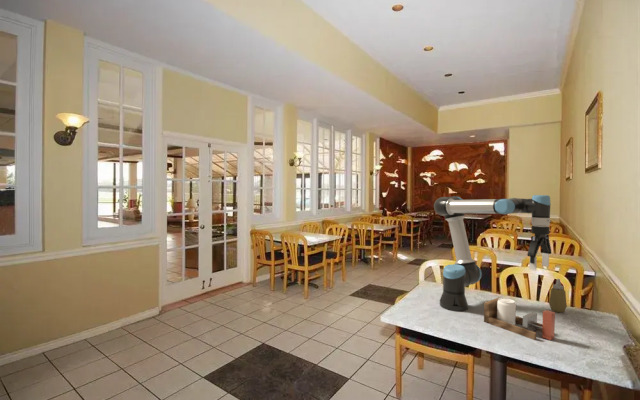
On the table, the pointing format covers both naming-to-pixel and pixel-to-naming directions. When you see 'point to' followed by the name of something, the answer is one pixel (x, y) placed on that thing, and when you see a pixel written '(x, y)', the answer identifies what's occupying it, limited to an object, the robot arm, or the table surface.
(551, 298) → the squeeze bottle
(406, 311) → the table surface
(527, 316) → the plunger
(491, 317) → the cradle frame
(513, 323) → the beverage can
